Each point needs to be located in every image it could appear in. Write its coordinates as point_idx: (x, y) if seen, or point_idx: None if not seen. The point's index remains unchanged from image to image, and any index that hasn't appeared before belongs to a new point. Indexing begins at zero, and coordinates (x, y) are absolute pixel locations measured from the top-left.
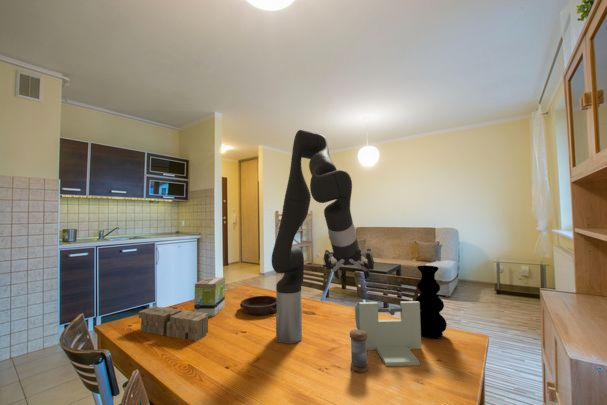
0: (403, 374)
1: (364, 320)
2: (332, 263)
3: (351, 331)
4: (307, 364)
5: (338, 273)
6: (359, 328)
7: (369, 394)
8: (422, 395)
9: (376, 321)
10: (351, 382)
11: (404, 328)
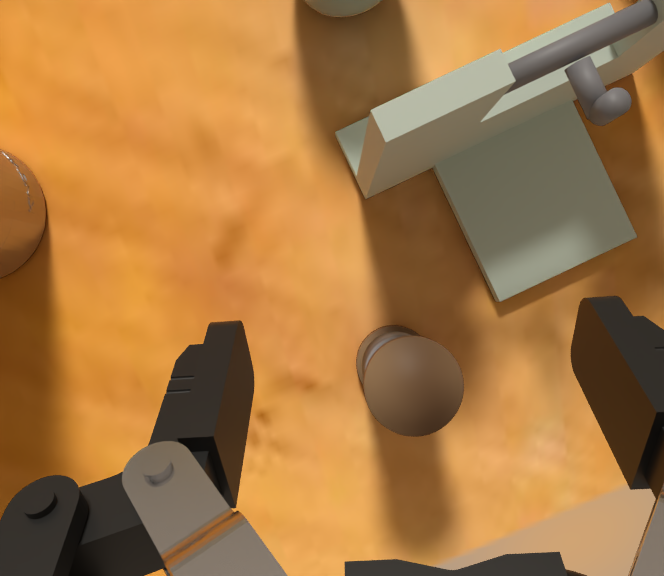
0: (570, 338)
1: (399, 159)
2: (111, 535)
3: (371, 380)
4: None
5: (240, 443)
6: (317, 10)
7: (467, 522)
8: None
9: (468, 127)
10: (387, 475)
11: (607, 69)
